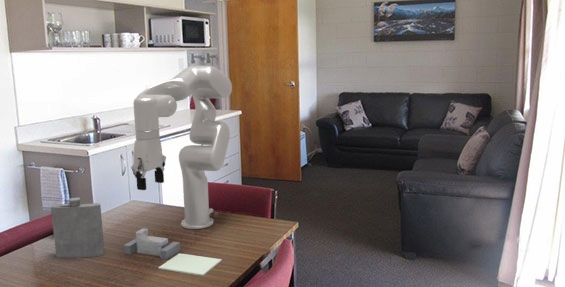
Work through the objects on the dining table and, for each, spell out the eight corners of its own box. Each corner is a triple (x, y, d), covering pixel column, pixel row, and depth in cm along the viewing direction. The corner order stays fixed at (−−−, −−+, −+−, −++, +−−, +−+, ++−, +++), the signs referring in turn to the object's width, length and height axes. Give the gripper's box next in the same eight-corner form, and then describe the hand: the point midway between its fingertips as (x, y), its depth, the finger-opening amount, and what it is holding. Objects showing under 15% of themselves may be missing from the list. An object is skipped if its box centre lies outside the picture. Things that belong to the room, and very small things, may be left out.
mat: (179, 254, 169) (179, 253, 169) (221, 260, 163) (221, 259, 163) (158, 269, 158) (158, 267, 158) (203, 276, 152) (203, 274, 152)
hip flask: (105, 252, 173) (100, 195, 169) (102, 256, 169) (97, 199, 165) (58, 253, 172) (52, 197, 168) (53, 258, 168) (47, 200, 164)
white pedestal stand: (144, 248, 175) (142, 228, 174) (168, 252, 172) (167, 231, 170) (137, 253, 172) (135, 232, 170) (162, 256, 168) (160, 235, 167)
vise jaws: (138, 245, 178) (138, 237, 178) (180, 250, 172) (179, 242, 172) (124, 253, 171) (123, 245, 170) (167, 259, 165) (166, 251, 164)
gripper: (153, 130, 173) (156, 179, 176) (120, 138, 158) (124, 191, 160) (172, 131, 171) (175, 180, 174) (140, 139, 155) (144, 193, 158)
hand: (150, 186), depth 167 cm, fingers open, 9 cm apart
